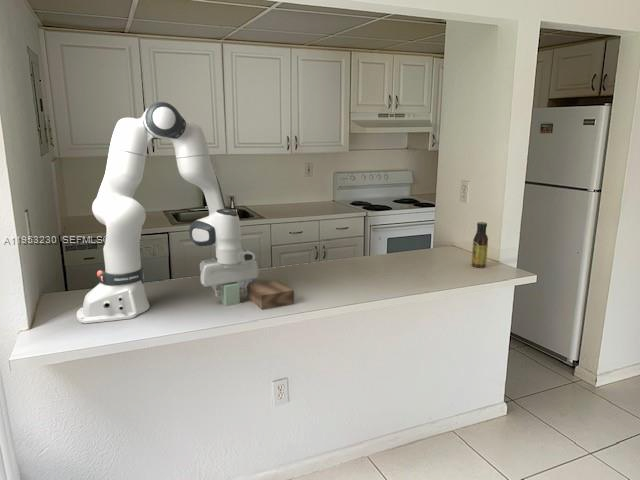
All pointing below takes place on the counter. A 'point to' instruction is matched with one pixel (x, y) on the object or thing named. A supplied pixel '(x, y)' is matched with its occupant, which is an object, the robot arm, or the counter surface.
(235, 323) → the counter surface
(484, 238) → the sauce bottle
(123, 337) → the counter surface
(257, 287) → the walnut block
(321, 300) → the counter surface
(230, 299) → the sage block
